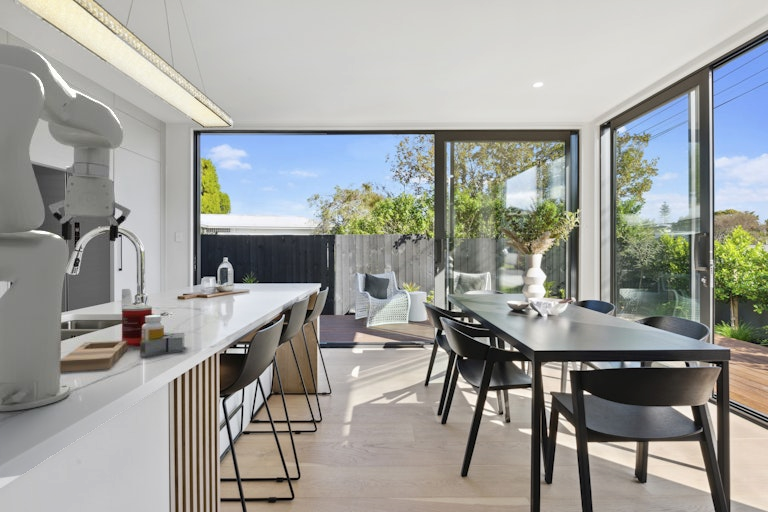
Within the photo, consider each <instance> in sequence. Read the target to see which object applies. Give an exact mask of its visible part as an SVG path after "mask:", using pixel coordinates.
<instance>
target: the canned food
mask: <svg viewBox="0 0 768 512" xmlns="http://www.w3.org/2000/svg"><path fill="white" fill-rule="evenodd" d="M149 315H153V306H152V305H149V304H148V305H146V304H145V305H144V304H142V305H141V304H137V305H135V304H134V305H133V304H132V305H126V306H123V307H122V311H121V341H127V347H139V346H140V341H142V326H143V325H144V324H146V322H145V316H149Z"/></svg>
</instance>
